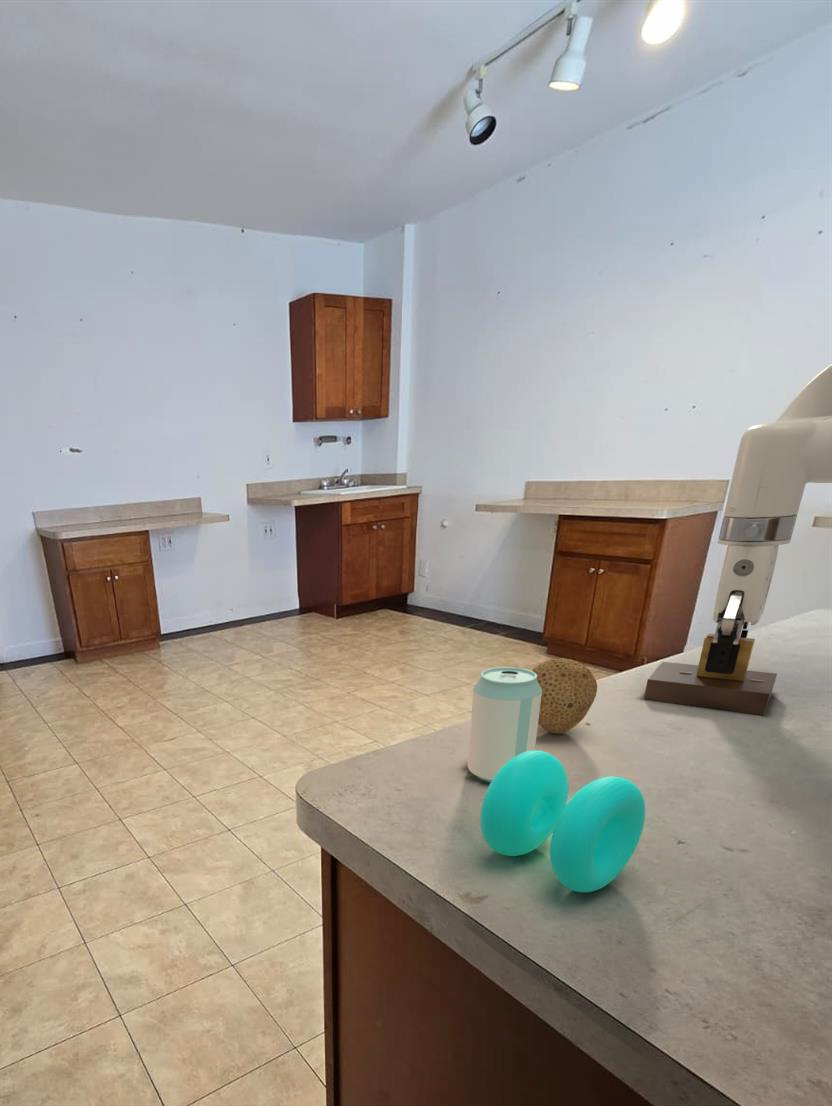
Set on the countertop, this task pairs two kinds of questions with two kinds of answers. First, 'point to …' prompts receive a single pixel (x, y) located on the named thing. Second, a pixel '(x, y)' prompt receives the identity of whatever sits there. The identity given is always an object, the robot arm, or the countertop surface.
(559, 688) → the natural sponge
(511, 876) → the countertop surface
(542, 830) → the donuts
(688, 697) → the plate
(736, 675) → the thumbturn
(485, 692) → the can
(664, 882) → the countertop surface
